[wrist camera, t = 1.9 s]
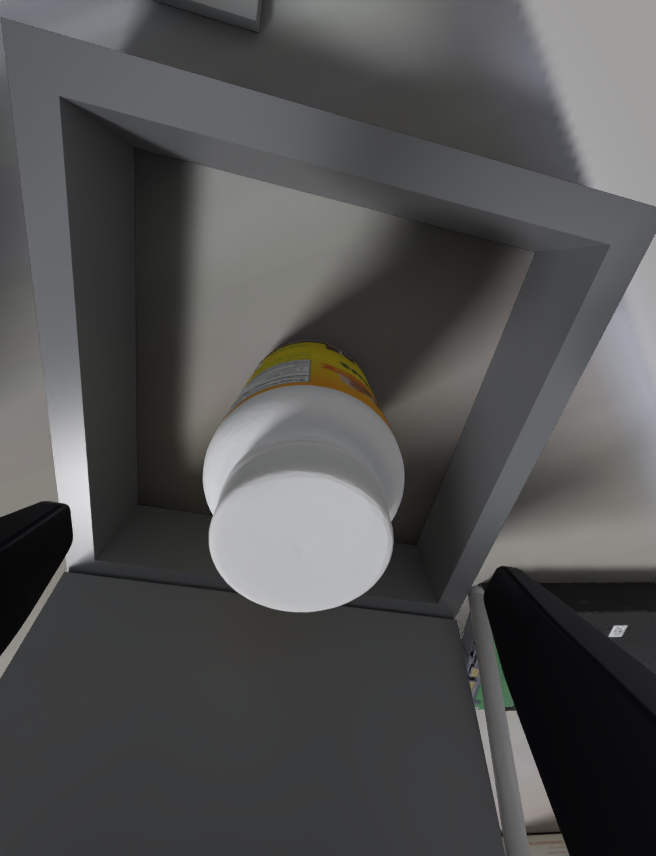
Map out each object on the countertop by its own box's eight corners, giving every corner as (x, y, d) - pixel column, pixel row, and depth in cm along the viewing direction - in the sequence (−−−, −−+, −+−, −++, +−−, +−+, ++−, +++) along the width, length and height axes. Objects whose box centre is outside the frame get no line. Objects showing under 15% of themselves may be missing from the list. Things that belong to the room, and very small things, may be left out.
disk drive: (687, 571, 23) (471, 577, 23) (734, 608, 21) (492, 615, 20) (630, 668, 27) (447, 676, 27) (663, 709, 25) (461, 718, 24)
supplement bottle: (380, 428, 17) (454, 606, 8) (277, 459, 18) (235, 660, 9) (348, 318, 15) (399, 390, 6) (231, 358, 16) (109, 483, 6)
